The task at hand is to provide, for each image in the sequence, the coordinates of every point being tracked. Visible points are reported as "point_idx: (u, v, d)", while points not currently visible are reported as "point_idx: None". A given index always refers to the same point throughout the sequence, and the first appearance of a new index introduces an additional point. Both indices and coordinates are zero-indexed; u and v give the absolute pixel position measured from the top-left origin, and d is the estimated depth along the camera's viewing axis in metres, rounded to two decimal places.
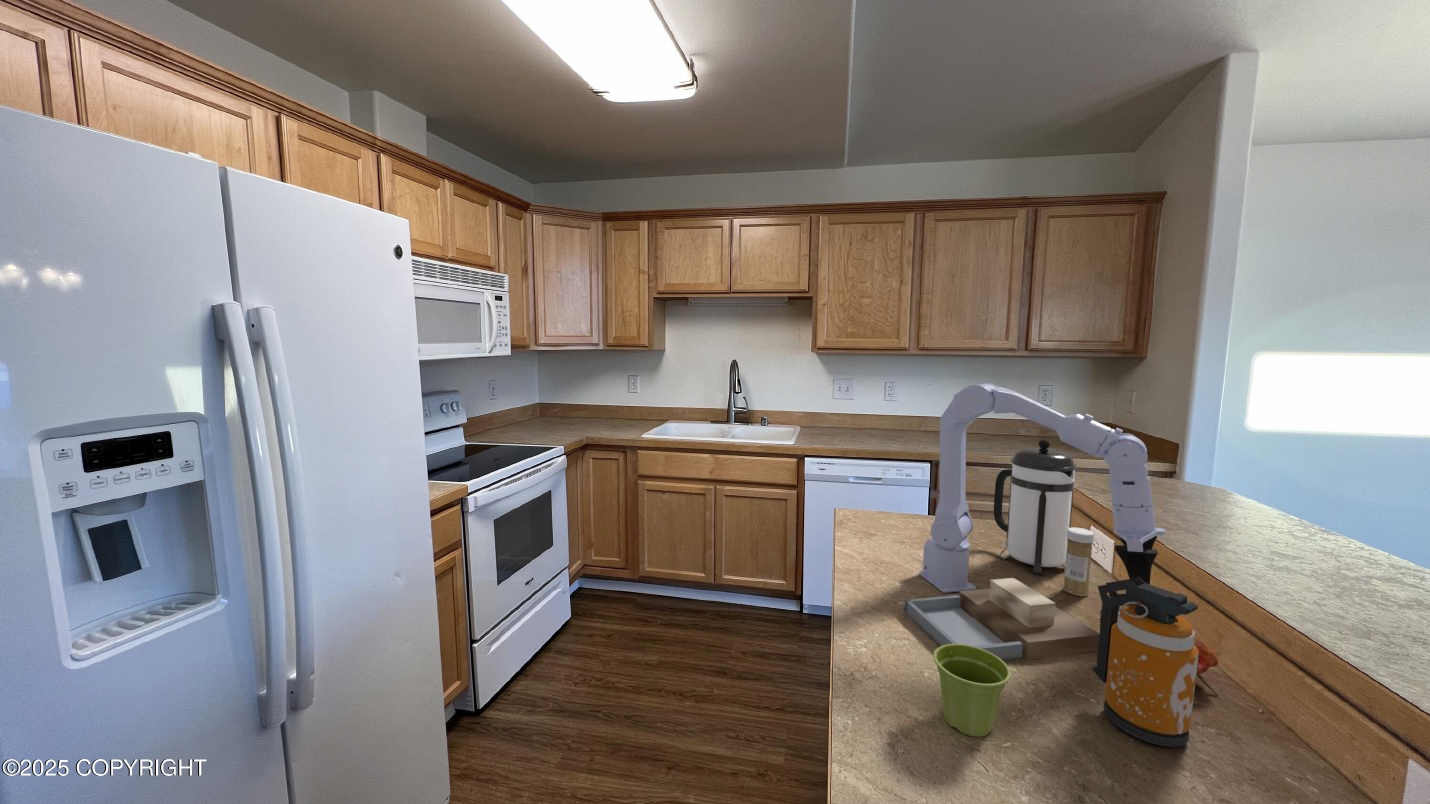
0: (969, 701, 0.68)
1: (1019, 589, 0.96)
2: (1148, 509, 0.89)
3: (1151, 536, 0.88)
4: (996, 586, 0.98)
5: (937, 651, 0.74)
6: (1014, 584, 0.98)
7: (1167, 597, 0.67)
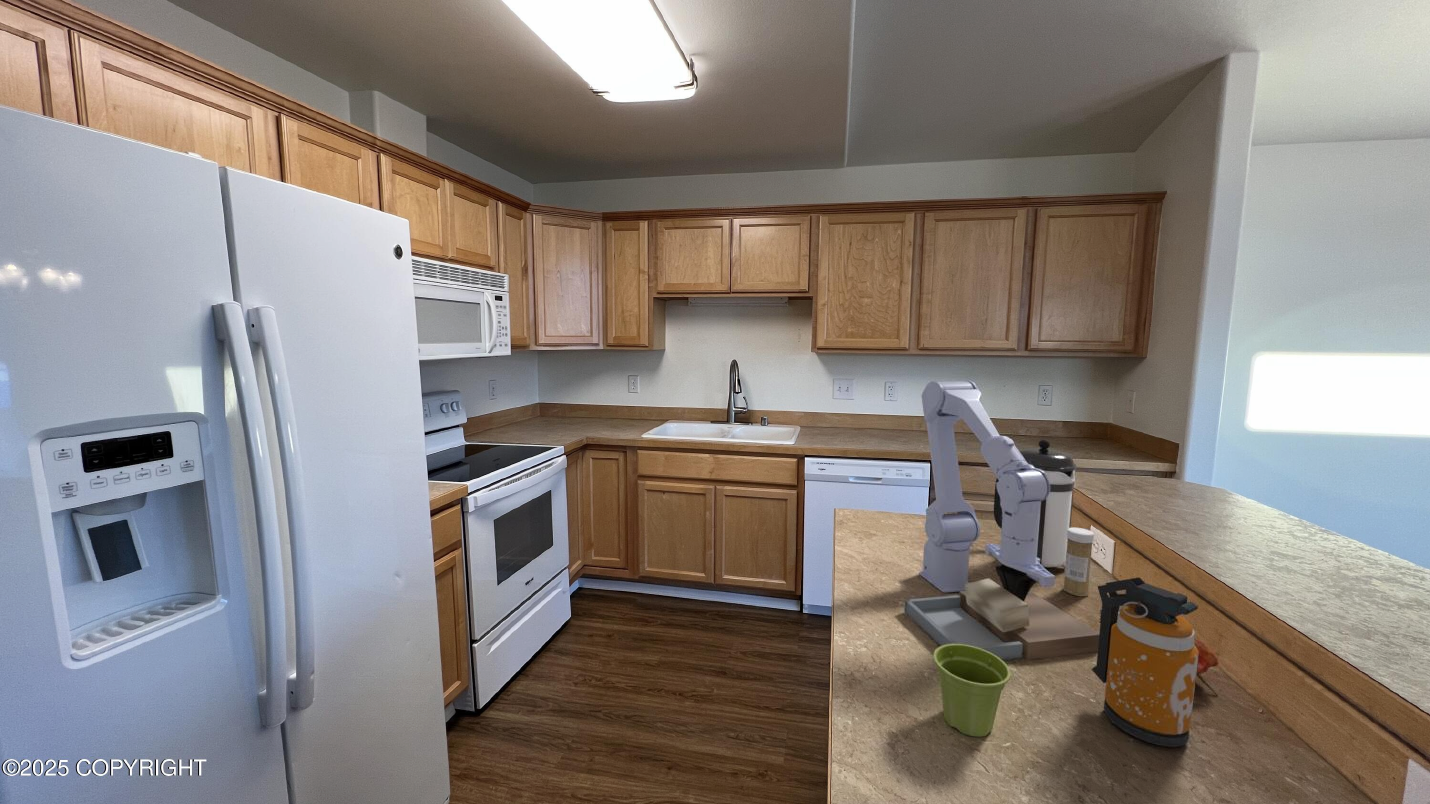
0: (968, 701, 0.68)
1: (993, 591, 0.95)
2: (1037, 540, 0.93)
3: None
4: (970, 590, 0.97)
5: (937, 651, 0.74)
6: (988, 586, 0.97)
7: (1167, 597, 0.67)
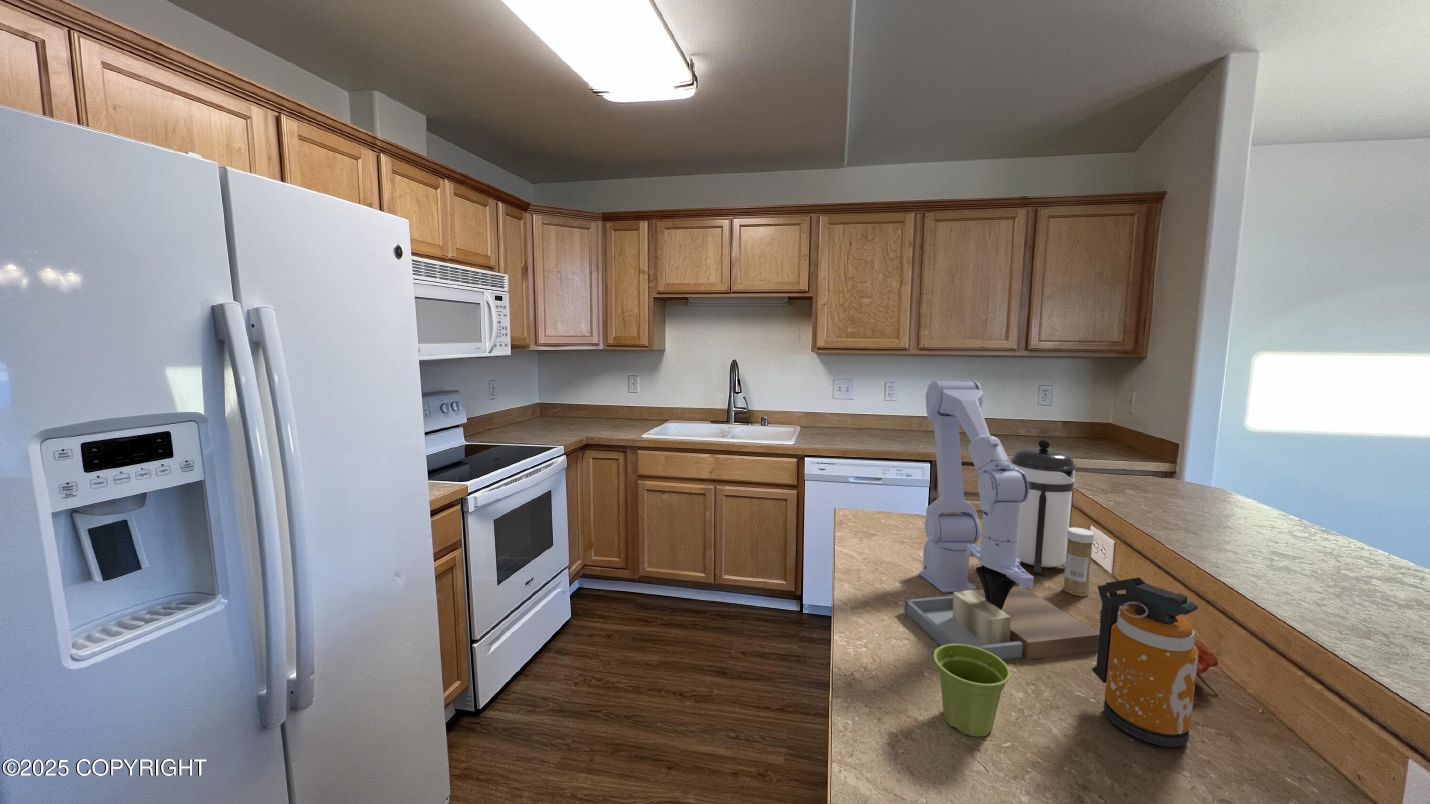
0: (969, 701, 0.68)
1: (968, 616, 0.94)
2: (1017, 541, 0.92)
3: None
4: None
5: (937, 651, 0.74)
6: (961, 607, 0.96)
7: (1167, 597, 0.67)
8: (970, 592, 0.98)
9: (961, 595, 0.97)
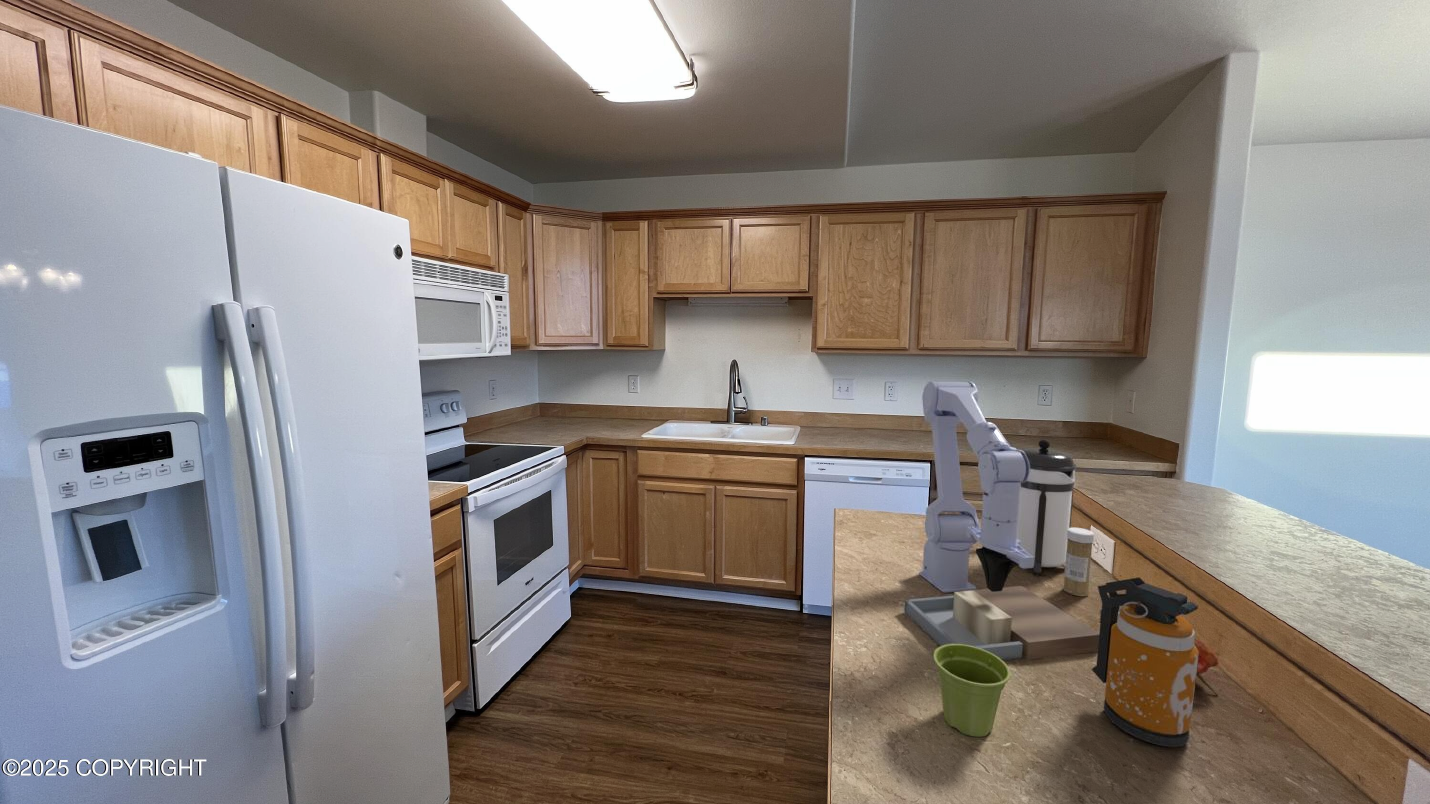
0: (968, 701, 0.68)
1: (968, 615, 0.94)
2: (1017, 522, 0.91)
3: None
4: None
5: (937, 651, 0.74)
6: (961, 607, 0.96)
7: (1167, 597, 0.67)
8: (971, 593, 0.98)
9: (962, 595, 0.97)
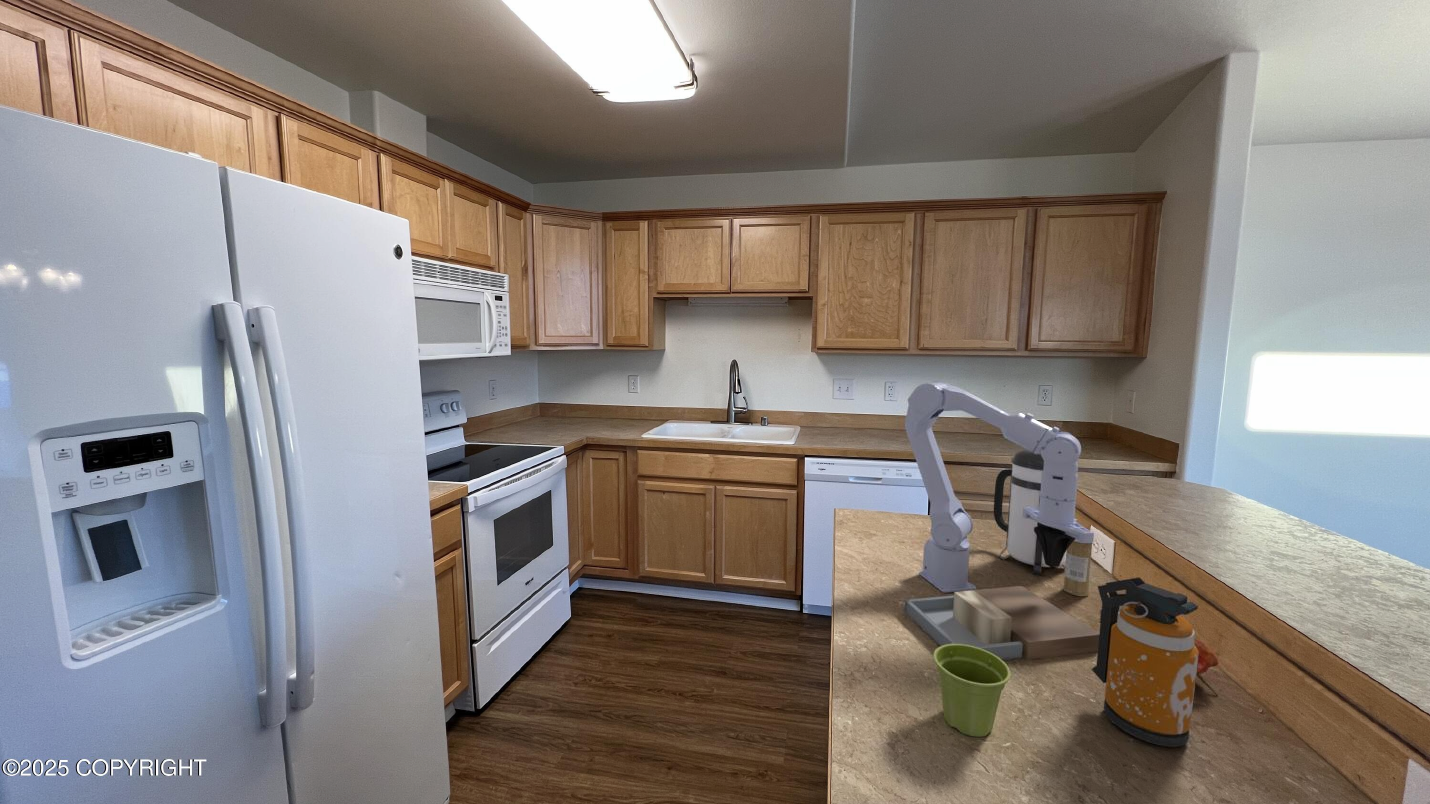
0: (968, 701, 0.68)
1: (968, 615, 0.94)
2: None
3: None
4: None
5: (937, 651, 0.74)
6: (961, 607, 0.96)
7: (1167, 597, 0.67)
8: (971, 593, 0.98)
9: (962, 595, 0.97)
